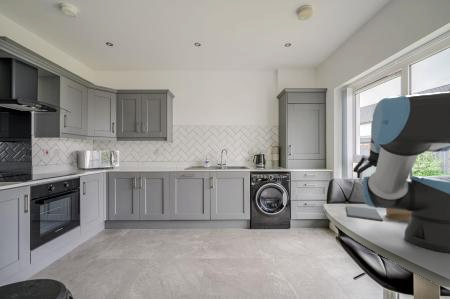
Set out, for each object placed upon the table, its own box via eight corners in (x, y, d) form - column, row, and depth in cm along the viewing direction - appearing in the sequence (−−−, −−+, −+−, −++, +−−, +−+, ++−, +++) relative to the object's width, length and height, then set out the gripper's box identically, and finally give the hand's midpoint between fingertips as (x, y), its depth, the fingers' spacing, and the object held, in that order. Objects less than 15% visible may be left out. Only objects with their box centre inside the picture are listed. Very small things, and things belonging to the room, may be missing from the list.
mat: (382, 221, 99) (382, 219, 99) (348, 216, 105) (348, 214, 105) (375, 210, 116) (375, 209, 116) (346, 207, 123) (346, 205, 123)
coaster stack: (412, 221, 99) (412, 206, 99) (388, 218, 103) (388, 204, 103) (408, 218, 104) (408, 203, 104) (386, 215, 109) (386, 201, 109)
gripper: (416, 147, 92) (409, 185, 101) (350, 143, 107) (349, 176, 117) (416, 156, 87) (409, 195, 97) (347, 150, 102) (346, 185, 112)
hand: (376, 185), depth 107 cm, fingers open, 13 cm apart
